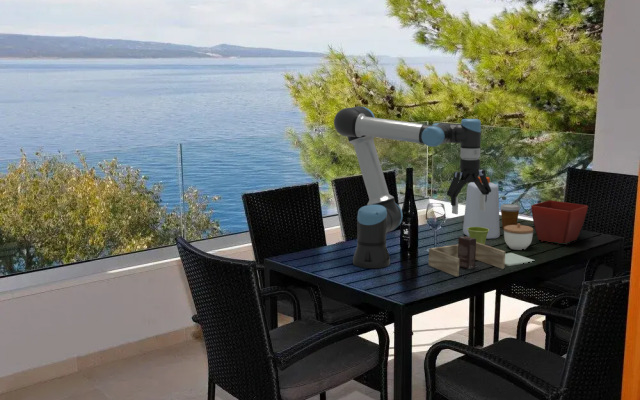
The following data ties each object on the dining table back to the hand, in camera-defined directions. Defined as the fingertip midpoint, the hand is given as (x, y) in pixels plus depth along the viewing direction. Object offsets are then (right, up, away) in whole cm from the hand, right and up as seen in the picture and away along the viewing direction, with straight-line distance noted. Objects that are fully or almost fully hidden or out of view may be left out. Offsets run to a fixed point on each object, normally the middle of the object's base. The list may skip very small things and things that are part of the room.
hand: (468, 212), depth 292 cm
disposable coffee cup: (+34, -10, +71) cm, 79 cm away
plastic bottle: (+17, -12, +58) cm, 62 cm away
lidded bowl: (+29, -17, +35) cm, 48 cm away
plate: (+20, -20, +15) cm, 32 cm away
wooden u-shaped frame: (0, -22, +4) cm, 22 cm away
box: (0, -22, +4) cm, 23 cm away
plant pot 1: (+11, -17, +34) cm, 40 cm away
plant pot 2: (+50, -14, +47) cm, 70 cm away
